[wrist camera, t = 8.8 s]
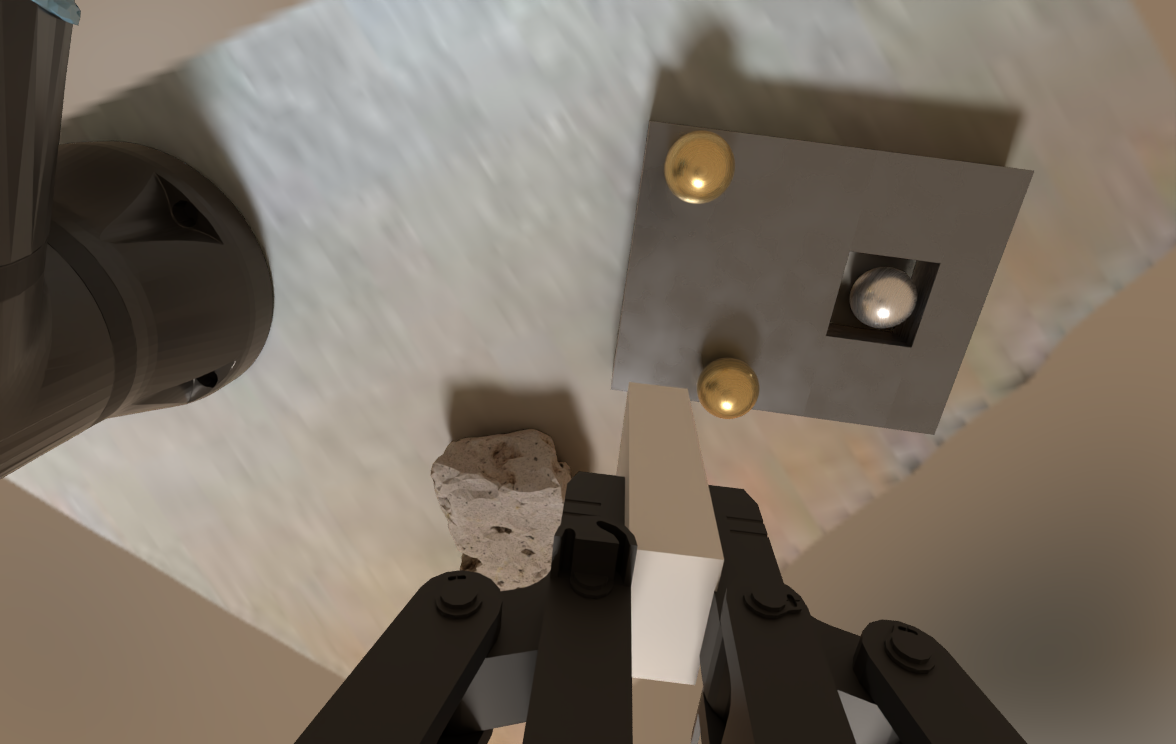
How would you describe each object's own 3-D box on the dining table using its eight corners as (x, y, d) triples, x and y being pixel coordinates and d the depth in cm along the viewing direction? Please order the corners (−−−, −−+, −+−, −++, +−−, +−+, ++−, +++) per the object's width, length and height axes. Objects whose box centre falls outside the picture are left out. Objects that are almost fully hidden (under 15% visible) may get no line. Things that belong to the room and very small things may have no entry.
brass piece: (657, 195, 31) (659, 203, 28) (668, 125, 29) (672, 126, 26) (722, 203, 30) (731, 212, 28) (736, 134, 29) (747, 136, 26)
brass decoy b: (689, 398, 35) (694, 425, 32) (700, 345, 33) (706, 367, 30) (746, 406, 34) (756, 433, 32) (759, 353, 33) (771, 376, 30)
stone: (480, 601, 44) (616, 573, 43) (459, 659, 39) (615, 628, 37) (417, 433, 41) (562, 397, 40) (385, 471, 35) (552, 430, 34)
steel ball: (831, 320, 33) (890, 340, 31) (848, 261, 32) (910, 278, 30) (859, 314, 35) (916, 331, 33) (875, 258, 34) (935, 273, 32)
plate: (612, 372, 37) (610, 389, 35) (649, 120, 32) (650, 120, 29) (915, 414, 37) (934, 434, 34) (1005, 166, 31) (1034, 170, 29)
